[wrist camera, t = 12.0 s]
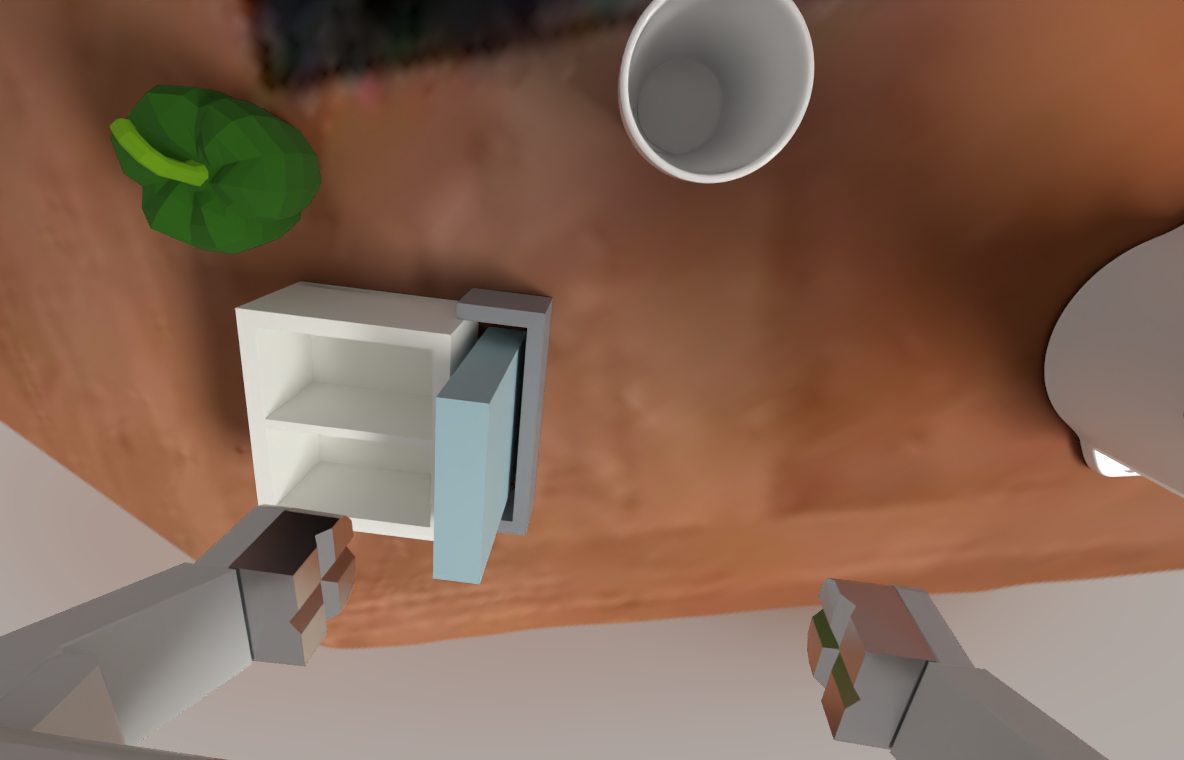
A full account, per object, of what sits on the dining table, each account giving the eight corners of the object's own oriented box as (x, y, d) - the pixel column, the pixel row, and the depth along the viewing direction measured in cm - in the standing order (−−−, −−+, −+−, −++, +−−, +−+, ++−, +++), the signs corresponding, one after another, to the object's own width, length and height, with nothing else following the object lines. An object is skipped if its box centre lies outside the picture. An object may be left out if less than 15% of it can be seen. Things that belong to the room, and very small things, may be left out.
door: (526, 331, 39) (489, 403, 28) (516, 472, 43) (479, 584, 32) (488, 326, 39) (435, 397, 28) (481, 467, 43) (433, 578, 32)
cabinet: (552, 297, 38) (538, 328, 32) (534, 503, 44) (518, 564, 38) (299, 266, 38) (232, 290, 32) (314, 475, 44) (261, 531, 38)
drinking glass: (655, 193, 35) (677, 222, 22) (597, 89, 34) (579, 46, 20) (756, 129, 34) (850, 115, 20) (701, 16, 32) (764, -88, 18)
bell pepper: (362, 221, 37) (274, 245, 28) (245, 249, 38) (124, 281, 29) (310, 76, 34) (193, 49, 25) (185, 111, 35) (28, 98, 26)
